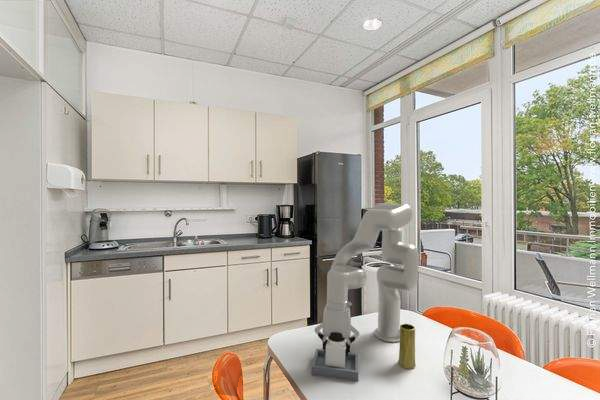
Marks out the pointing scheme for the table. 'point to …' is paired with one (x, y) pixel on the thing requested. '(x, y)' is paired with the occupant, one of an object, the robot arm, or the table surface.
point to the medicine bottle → (336, 350)
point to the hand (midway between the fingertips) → (336, 352)
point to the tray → (335, 372)
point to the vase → (407, 346)
